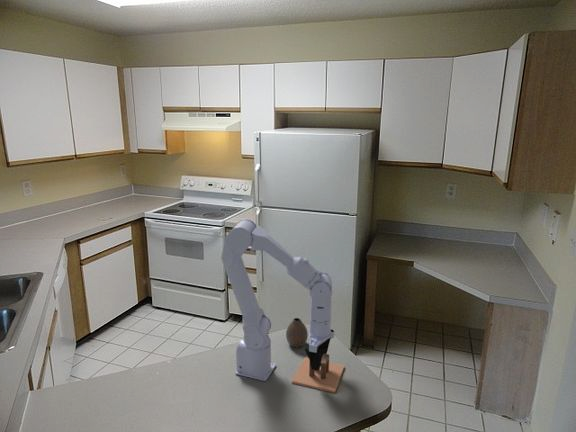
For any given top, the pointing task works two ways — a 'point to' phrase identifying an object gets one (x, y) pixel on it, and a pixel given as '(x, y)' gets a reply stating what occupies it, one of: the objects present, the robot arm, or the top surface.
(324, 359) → the notched brown block
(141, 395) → the top surface
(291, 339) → the vase
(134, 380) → the top surface
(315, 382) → the mat
